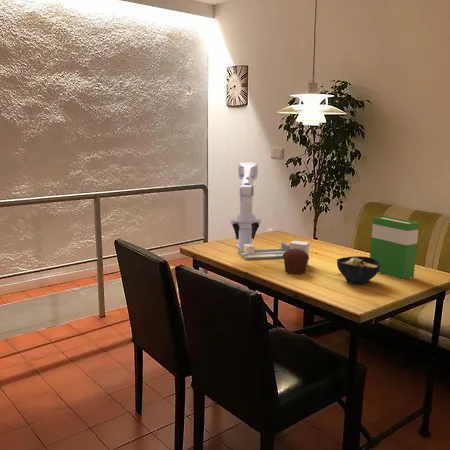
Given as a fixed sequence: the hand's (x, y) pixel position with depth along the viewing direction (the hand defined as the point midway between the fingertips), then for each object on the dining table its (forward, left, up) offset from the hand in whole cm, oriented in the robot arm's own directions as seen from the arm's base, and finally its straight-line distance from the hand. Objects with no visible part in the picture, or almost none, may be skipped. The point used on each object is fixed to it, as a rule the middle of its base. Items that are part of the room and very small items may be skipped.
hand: (245, 238), depth 228 cm
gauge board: (-3, +11, -10) cm, 15 cm away
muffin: (+25, +15, -10) cm, 31 cm away
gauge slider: (-3, +3, -8) cm, 9 cm away
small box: (+15, +21, -10) cm, 28 cm away
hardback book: (+35, +56, -10) cm, 67 cm away
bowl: (+43, +35, -10) cm, 57 cm away
